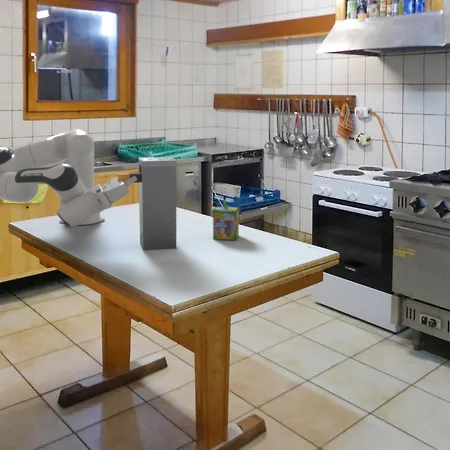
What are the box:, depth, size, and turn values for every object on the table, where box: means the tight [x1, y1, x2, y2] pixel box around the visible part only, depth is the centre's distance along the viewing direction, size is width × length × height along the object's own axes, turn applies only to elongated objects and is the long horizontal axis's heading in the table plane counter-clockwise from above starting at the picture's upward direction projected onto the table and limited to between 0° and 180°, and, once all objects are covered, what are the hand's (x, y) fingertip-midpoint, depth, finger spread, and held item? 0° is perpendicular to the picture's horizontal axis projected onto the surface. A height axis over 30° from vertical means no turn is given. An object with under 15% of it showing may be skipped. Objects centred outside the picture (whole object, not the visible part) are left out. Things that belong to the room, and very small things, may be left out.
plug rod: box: [116, 172, 141, 184], centre depth 207 cm, size 3×18×3 cm, turn 105°
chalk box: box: [212, 199, 240, 241], centre depth 226 cm, size 9×9×15 cm
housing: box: [138, 156, 177, 251], centre depth 210 cm, size 10×12×32 cm
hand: (135, 176), depth 206 cm, fingers closed on plug rod, 3 cm apart
